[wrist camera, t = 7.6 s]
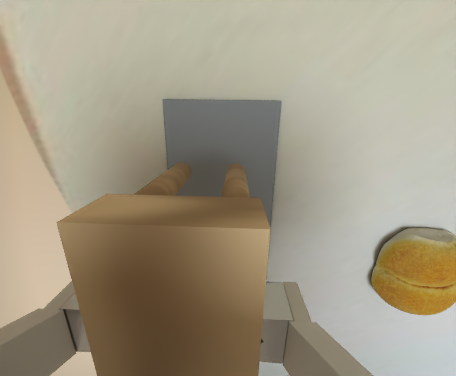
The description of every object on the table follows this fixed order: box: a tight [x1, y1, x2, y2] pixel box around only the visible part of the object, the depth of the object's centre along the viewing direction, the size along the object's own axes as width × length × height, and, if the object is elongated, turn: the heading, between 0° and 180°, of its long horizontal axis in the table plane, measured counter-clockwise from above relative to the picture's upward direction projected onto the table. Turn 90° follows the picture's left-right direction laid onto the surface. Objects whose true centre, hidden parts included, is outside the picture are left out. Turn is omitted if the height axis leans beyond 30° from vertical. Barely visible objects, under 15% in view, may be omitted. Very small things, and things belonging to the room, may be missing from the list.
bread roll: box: [371, 228, 456, 315], centre depth 20 cm, size 8×9×4 cm
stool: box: [57, 162, 270, 376], centre depth 10 cm, size 5×8×8 cm, turn 179°
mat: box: [163, 99, 281, 226], centre depth 20 cm, size 16×10×1 cm, turn 179°
